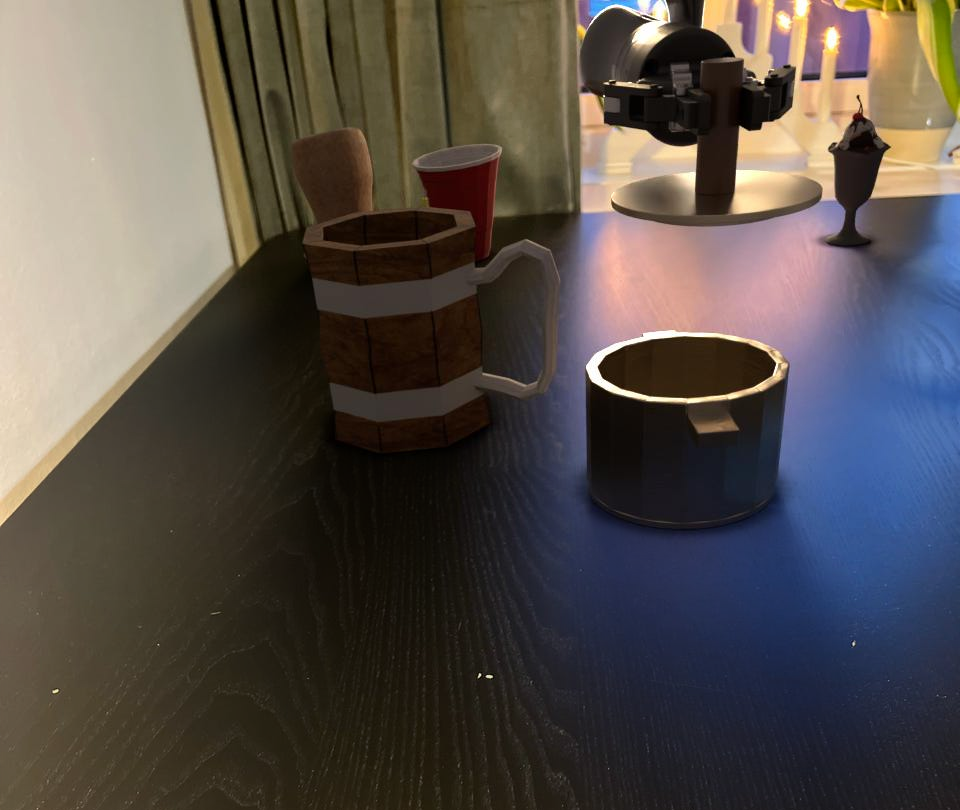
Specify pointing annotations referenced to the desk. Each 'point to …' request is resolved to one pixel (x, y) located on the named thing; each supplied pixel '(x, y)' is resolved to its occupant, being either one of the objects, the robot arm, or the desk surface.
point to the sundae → (855, 173)
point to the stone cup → (334, 172)
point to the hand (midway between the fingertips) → (731, 113)
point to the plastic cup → (464, 185)
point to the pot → (684, 428)
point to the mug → (413, 325)
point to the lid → (718, 171)
